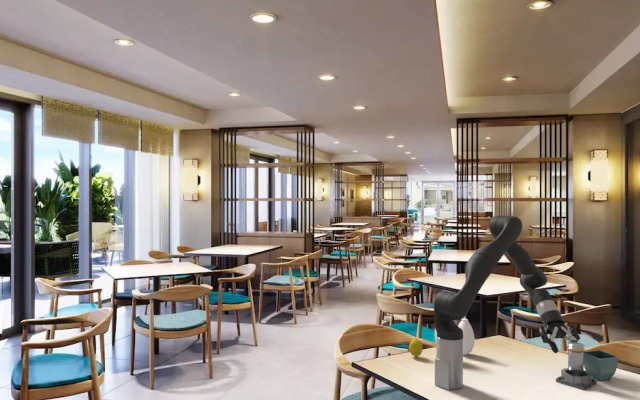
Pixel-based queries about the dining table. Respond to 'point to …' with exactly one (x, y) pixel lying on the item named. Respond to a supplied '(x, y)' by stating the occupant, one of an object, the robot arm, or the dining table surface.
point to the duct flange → (576, 380)
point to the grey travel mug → (575, 358)
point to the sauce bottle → (467, 336)
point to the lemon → (415, 347)
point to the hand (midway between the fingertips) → (567, 351)
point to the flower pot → (600, 364)
